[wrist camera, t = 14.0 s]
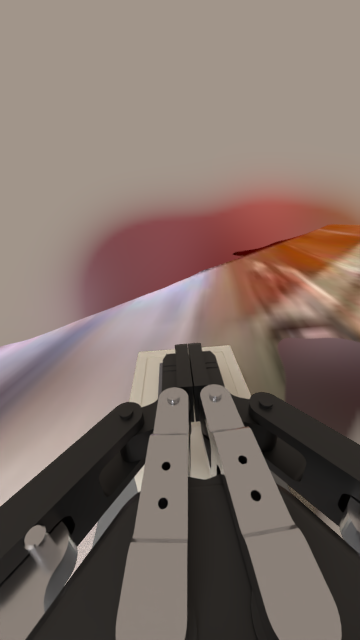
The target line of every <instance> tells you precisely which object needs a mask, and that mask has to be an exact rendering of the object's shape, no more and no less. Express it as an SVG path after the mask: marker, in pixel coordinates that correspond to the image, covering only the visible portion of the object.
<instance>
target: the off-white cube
mask: <svg viewBox="0 0 360 640" xmlns="http://www.w3.org/2000/svg"><path fill="white" fill-rule="evenodd" d="M202 351H211V352H212V353H213V354H214V355H215V356H216V359H217V363H218V366H219V369H220V373H221V376H222V379H223V382H224V386H225V388H226V389H228V391H229V392H230V393H231V394H232V395H234V396H237V397H240V398H246V399H250V397H251V394H250V392H249V389H248V387H247V385H246V382H245V380H244V378H243V375H242V373H241V371H240V368H239V366H238V364H237V361H236V359H235V357H234V354H233V352H232V350H231V347H230V345H227V346H213V347H202ZM173 353H175V349H173V350H160V351H146V352H139V353H138V358H137V363H136V368H135V373H134V378H133V384H132V389H131V394H130V399H129V402H135V403H137V404H139V405H140V406H141V407H144V406H147V405H150V404H152V403H154V402H155V401H156V400H157V399H158V398H159V395H160V394H161V392H162V364H163V358H164V357H165V355H166V354H173ZM191 428H192V432H191V477H193V478H198V479H209V478H211V477H210V472H209V467H208V463H207V459H206V454H205V450H204V445H203V441H202V436H201V424H200V421H198V422H196V420H195V412H194V422H191ZM144 467H145V465H144V466H143V467H142V468H141V469H140V471H139V472H138V473H137V474H136V475H135V477H134V478H135V482H136V486H137V490H138V492H140V491H141V485H142V479H143V473H144Z"/></svg>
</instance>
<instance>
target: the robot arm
mask: <svg viewBox="0 0 360 640" xmlns="http://www.w3.org/2000/svg"><path fill="white" fill-rule="evenodd" d="M194 412H195V420H196V422H198V421H200V424H201V436H202V441H203V445H204V450H205V454H206V459H207V463H208V467H209V472H210V477H211V478H209V479H198V478H193V477H191V432H192V428H191V422H194ZM144 465H145V467H144V473H143V479H142V485H141V491H140V492H138V493H137V494H135V495H134V496H133V497H132V498H131V499H130V500H129V501H128V502H127V503H126V504H125V505H124V506H123V507H122V509H121V510H120V511H119V513H118V514H117V515H116V517H115V518H114V519H113V521H112V522H111V523H110V525H109V526H108V527H107V529H106V530H105V532H104V533H103V534H102V536H101V537H100V538H99V540H98V541H97V542H96V544H95V545H94V547H93V548H92V549H91V551H90V552H89V553H88V555H87V556H86V557H85V559H84V560H83V562H82V563H81V564H80V566H79V567H78V568H77V570H76V571H75V572H74V574H73V575H72V576H71V574H72V572H73V570H74V567H75V564H76V561H77V546H78V545H79V544H80V542H81V541H82V540H83V539H84V538H85V536H86V535H87V534H88V533H89V531H90V530H91V529H92V528H93V527H94V525H95V524H96V523H97V522H98V521H99V519H100V518H101V517H102V516H103V514H104V513H105V512H106V511H107V510H108V508H109V507H110V506H111V505H112V503H113V502H114V501H115V500H116V499H117V497H118V496H119V495H120V494H121V493H122V491H123V490H124V489H125V488H126V486H127V485H128V484H129V483H130V482H131V480H132V479H133V478H134V477H135V475H136V474H137V473H138V472H139V471H140V469H141V468H142V467H143V466H144ZM269 469H270V470H271V471H272V472H273V473H274V474H276V475H277V476H278V477H279V478H281V479H282V480H283V481H284V482H285V483H287V484H288V485H289V486H290V487H291V488H293V489H294V490H295V491H296V492H298V493H299V494H300V495H301V496H302V497H304V498H305V499H306V500H307V501H309V502H310V503H311V504H312V505H313V506H315V507H316V508H317V509H318V510H319V511H321V512H322V513H323V514H325V515H326V516H327V517H328V518H329V519H330V520H332V521H333V522H334V523H336V524H337V525H338V526H339V527H340V531H341V534H342V537H343V539H344V540H343V539H342V538H341V537H340V536H339V535H338V534H337V533H335V532H334V531H333V530H332V529H331V528H330V527H329V526H328V525H326V524H325V523H324V522H323V521H322V520H321V519H320V518H319V517H317V516H316V515H315V514H314V513H313V512H312V511H311V510H310V509H308V508H307V507H306V506H305V505H304V504H303V503H302V502H300V501H299V500H298V499H297V498H296V497H295V496H294V495H293V494H291V493H290V492H289V491H288V490H286V489H285V488H283V487H282V486H280V485H278V484H277V483H275V481H274V479H273V476H272V474H271V472H270V470H269ZM70 576H71V578H70V579H69V577H70ZM68 579H69V581H68V582H67V580H68ZM66 582H67V583H66ZM65 583H66V585H65ZM64 585H65V586H64ZM0 640H360V445H359V444H357V443H356V442H354V441H352V440H350V439H349V438H347V437H345V436H343V435H342V434H340V433H338V432H336V431H335V430H333V429H331V428H330V427H328V426H326V425H324V424H323V423H321V422H319V421H317V420H315V419H314V418H312V417H310V416H308V415H307V414H305V413H303V412H302V411H300V410H298V409H296V408H295V407H293V406H291V405H289V404H288V403H286V402H284V401H283V400H281V399H279V398H277V397H276V396H274V395H272V394H269V393H265V392H259V393H255V394H253V395H252V396H251V397H250V399H246V398H240V397H237V396H234V395H232V394H231V393H230V392H229V391H228V389H226V388H225V386H224V382H223V379H222V376H221V373H220V369H219V366H218V363H217V359H216V356H215V355H214V354H213V353H212V352H211V351H202V347H201V343H192V344H188V347H187V344H179V345H175V353H173V354H166V355H165V357H164V358H163V364H162V392H161V394H160V395H159V398H158V399H157V400H156V401H155V402H154V403H152V404H150V405H147V406H144V407H141V406H140V405H139V404H137V403H135V402H126V403H123V404H120V405H119V406H117V407H116V408H115V409H113V410H112V411H111V412H110V413H109V414H108V415H106V416H105V417H104V418H103V419H102V420H101V421H100V422H98V423H97V424H96V425H95V426H94V427H93V428H91V429H90V430H89V431H88V432H87V433H86V434H84V435H83V436H82V437H81V438H80V439H79V440H77V441H76V442H75V443H74V444H73V445H72V446H70V447H69V448H68V449H67V450H66V451H65V452H63V453H62V454H61V455H60V456H59V457H58V458H56V459H55V460H54V461H53V462H52V463H51V464H49V465H48V466H47V467H46V468H45V469H44V470H42V471H41V472H40V473H39V474H38V475H37V476H35V477H34V478H33V479H32V480H31V481H30V482H28V483H27V484H26V485H25V486H24V487H23V488H21V489H20V490H19V491H18V492H17V493H16V494H15V495H13V496H12V497H11V498H10V499H9V500H8V501H6V502H5V503H4V504H3V505H2V506H1V507H0Z"/></svg>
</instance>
